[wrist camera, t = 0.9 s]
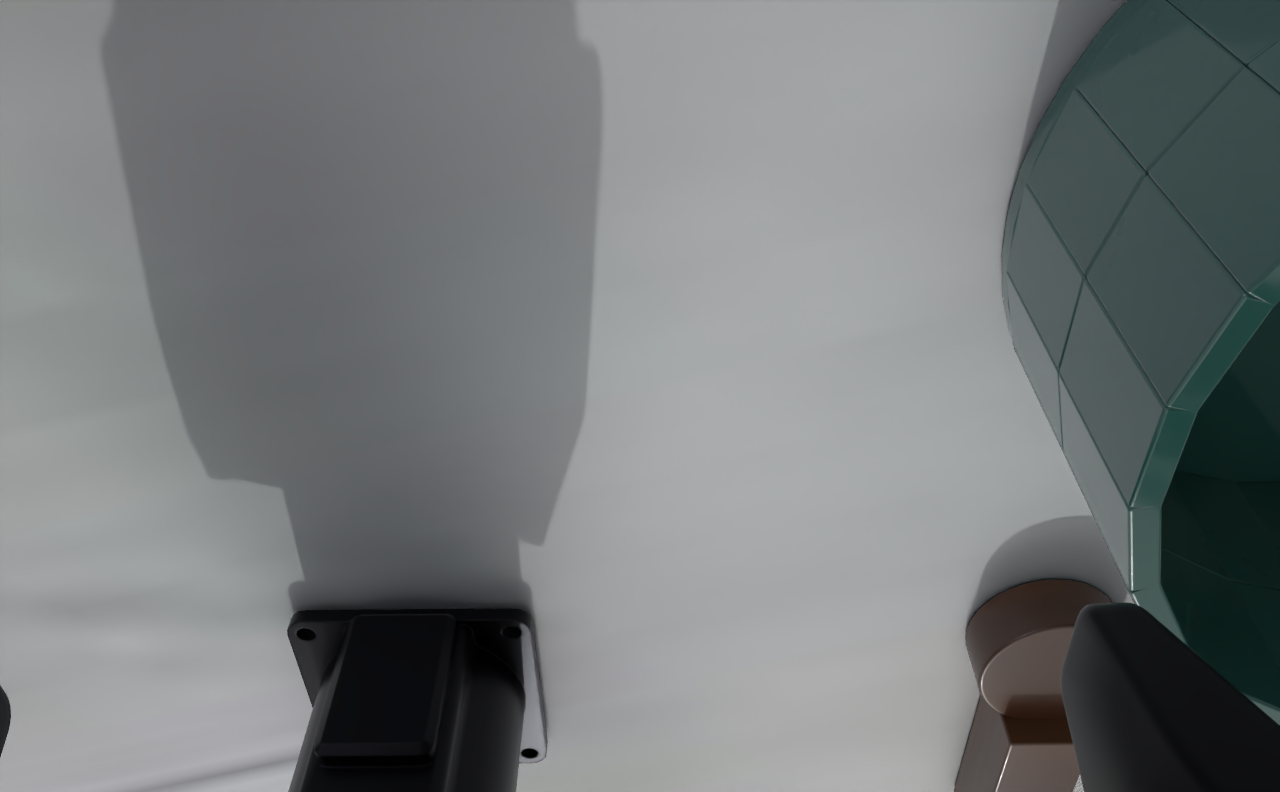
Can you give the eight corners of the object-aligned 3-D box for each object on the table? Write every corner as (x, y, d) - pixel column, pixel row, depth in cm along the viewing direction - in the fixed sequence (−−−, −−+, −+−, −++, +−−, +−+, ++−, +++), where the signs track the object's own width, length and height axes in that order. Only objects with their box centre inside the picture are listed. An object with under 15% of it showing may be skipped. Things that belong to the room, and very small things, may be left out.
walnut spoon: (1051, 788, 34) (1075, 861, 32) (924, 790, 34) (941, 862, 32) (1133, 577, 28) (1168, 651, 26) (978, 578, 28) (1002, 652, 26)
